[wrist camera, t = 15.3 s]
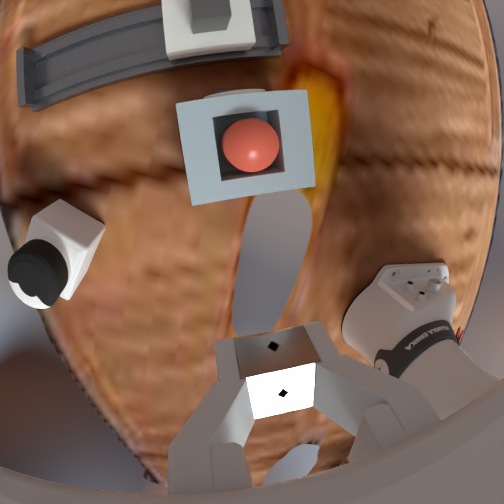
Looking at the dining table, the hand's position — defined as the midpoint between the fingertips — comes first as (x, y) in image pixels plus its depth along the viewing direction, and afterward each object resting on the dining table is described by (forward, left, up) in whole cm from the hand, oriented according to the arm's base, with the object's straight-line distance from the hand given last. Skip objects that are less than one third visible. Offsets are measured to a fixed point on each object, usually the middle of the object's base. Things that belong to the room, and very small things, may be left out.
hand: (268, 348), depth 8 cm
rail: (+5, -17, -26) cm, 32 cm away
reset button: (-3, -4, -20) cm, 20 cm away
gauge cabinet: (-3, -4, -26) cm, 27 cm away
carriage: (-1, -17, -23) cm, 29 cm away
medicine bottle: (+18, +3, -26) cm, 32 cm away
